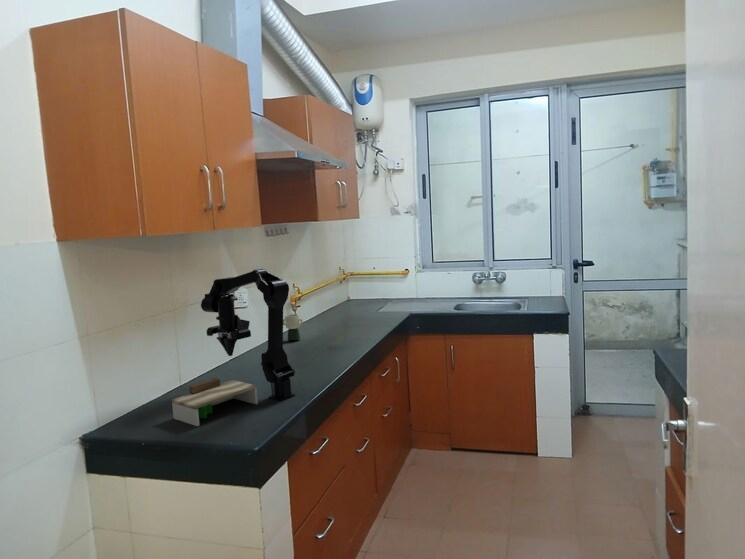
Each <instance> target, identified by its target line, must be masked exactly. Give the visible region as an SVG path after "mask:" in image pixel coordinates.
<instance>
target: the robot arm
mask: <svg viewBox="0 0 745 559" xmlns="http://www.w3.org/2000/svg"><path fill="white" fill-rule="evenodd" d="M254 283H255V285H256V289H257V290H259V291H260V292H261V293H262V296H263V297H262V298H263V301H264V302H265V304H266V306H267V350H266V352H262V353H261V363H260V366H261V367H262V371H263V374H264V378H265V381H266V382H268V383H270V387H271V389H270V390H271V395H268V398H269V399H273V400H277V401H284V400H287V399H289V398H292V397H294V396H296V393H294V392H292V382H291V378H292V377H295V374H296V373H295V372H296V370H295V369H294V368H293V367H292V365H291V364H290V363H289V361H288V360H289V359H288V354H287V353H286V351H285V349H284V325H283V319H284V306H285V304H286V302H287V301H288V299H289V292H290V286H289V283H288V282H287V281H286V280H284V279H282V278H281V277H280V276H278V275H275V274H274V273H272V272H269V271H268V270H266V269H265V268H257V269H253V270H252V271H249V272H246V273H243V274H241V275H237V276H233V277H231V276H230V277H225V278H216V279H214V280H213V284H212V285H211V289H210V291H209V293H205V294H204V297H203V299H202V300H201V302H200V308H201V309H202V311H203V312H206V313H218V314H217V315H218V316H216V317H215V319H216V321H218V324H219V325H214V326H209V327H208V328H207V329H206V336H209V337H213V335H216V334H217V337H216V340H218V342H219V343H220V344H221V346H222V347H223V349H224V351H225V353H227V354H226V355H228V357H232V356H233V355H234V350H235V346H236V343H237V341H238V340H242V339H246V338H250V337H252V331H251V330H250V329H249V328H250V320H246V319H241V318H240V317H239V315H238V314H236V311H235V301H238V300H239V299H238V297H237V296H236V295H235V294H234V293H235V292H237V291H238V290H239V289H240V288H241V287H245V286H248V285H251V284H254Z"/></svg>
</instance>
